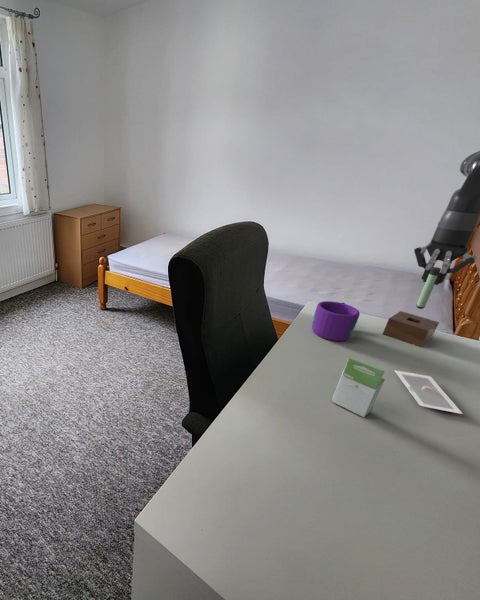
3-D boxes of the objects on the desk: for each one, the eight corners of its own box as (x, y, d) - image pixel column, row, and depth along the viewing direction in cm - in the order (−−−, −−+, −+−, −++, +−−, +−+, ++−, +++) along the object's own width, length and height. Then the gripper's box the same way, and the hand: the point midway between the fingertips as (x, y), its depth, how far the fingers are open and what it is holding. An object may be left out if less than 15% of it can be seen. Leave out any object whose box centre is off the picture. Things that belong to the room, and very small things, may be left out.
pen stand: (394, 326, 118) (400, 310, 116) (431, 338, 111) (439, 322, 108) (382, 334, 114) (388, 318, 111) (420, 347, 106) (428, 330, 103)
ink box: (370, 411, 81) (391, 365, 76) (364, 418, 79) (384, 371, 74) (337, 395, 86) (354, 351, 81) (330, 401, 84) (347, 357, 79)
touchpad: (428, 379, 92) (432, 373, 91) (460, 417, 79) (465, 410, 78) (392, 373, 94) (395, 367, 93) (418, 409, 82) (421, 402, 81)
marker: (416, 306, 109) (433, 266, 103) (425, 308, 108) (442, 268, 101) (414, 308, 108) (430, 268, 102) (422, 310, 107) (439, 270, 100)
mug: (346, 347, 106) (356, 319, 102) (305, 334, 114) (313, 308, 110) (357, 328, 117) (366, 302, 113) (319, 317, 125) (326, 292, 121)
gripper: (495, 229, 93) (466, 287, 101) (428, 221, 104) (406, 274, 111) (488, 233, 90) (458, 292, 97) (420, 224, 100) (397, 278, 108)
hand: (430, 282), depth 104 cm, fingers closed on marker, 2 cm apart
